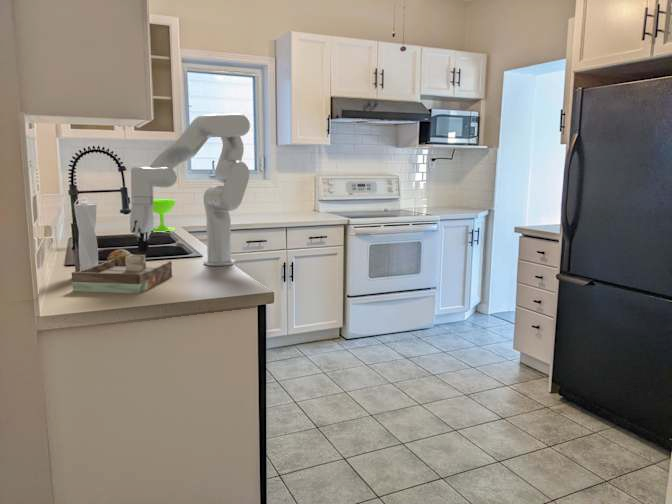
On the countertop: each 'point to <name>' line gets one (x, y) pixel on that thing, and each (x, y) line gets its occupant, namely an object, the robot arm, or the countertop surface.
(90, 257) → the skyscraper
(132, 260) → the birch block
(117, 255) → the bread roll
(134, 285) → the trap box
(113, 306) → the countertop surface
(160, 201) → the wineglass
